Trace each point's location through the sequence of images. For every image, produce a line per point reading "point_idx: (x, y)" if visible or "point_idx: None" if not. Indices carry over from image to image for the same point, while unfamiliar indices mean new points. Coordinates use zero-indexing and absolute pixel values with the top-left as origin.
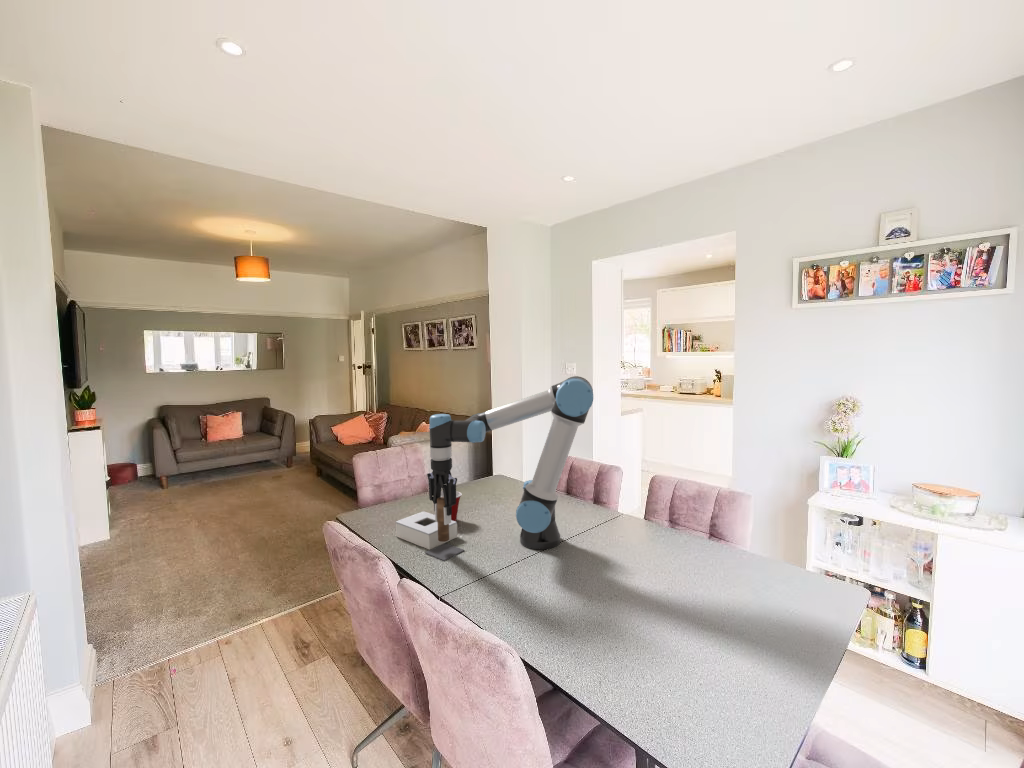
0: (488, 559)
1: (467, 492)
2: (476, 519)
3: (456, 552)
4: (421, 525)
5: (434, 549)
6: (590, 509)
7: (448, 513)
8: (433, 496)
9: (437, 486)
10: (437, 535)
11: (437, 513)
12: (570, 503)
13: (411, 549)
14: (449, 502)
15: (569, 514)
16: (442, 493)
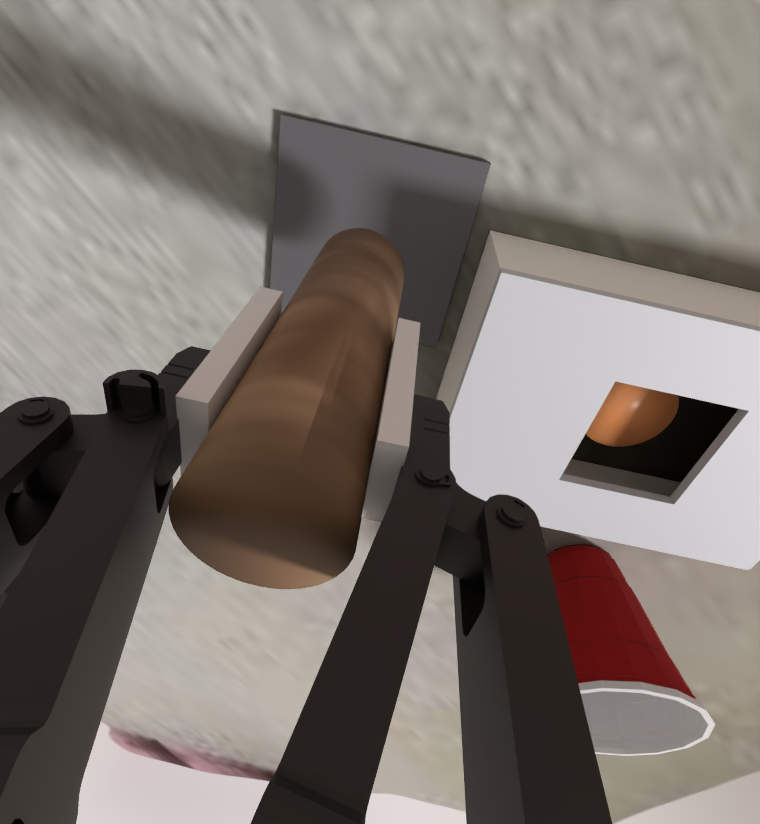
0: (76, 268)
1: (632, 760)
2: (449, 600)
3: (285, 259)
4: (652, 384)
5: (448, 236)
6: (130, 713)
7: (180, 362)
8: (436, 547)
9: (276, 774)
10: (469, 334)
11: (351, 349)
12: (214, 734)
13: (631, 176)
14: (18, 438)
15: (155, 683)
16: (677, 728)
